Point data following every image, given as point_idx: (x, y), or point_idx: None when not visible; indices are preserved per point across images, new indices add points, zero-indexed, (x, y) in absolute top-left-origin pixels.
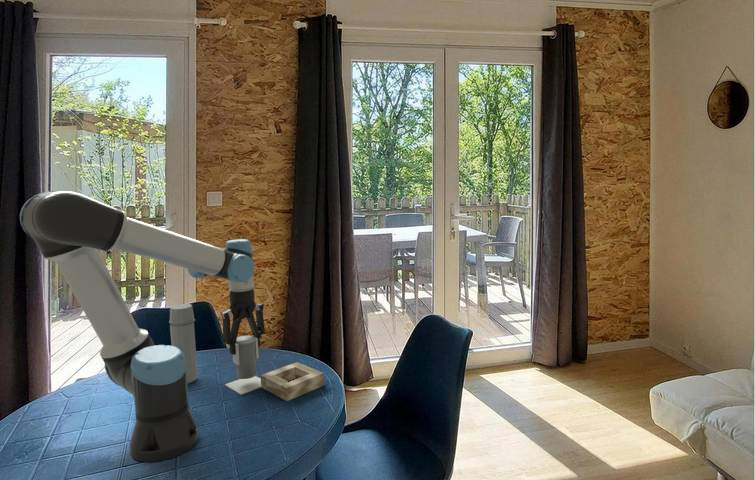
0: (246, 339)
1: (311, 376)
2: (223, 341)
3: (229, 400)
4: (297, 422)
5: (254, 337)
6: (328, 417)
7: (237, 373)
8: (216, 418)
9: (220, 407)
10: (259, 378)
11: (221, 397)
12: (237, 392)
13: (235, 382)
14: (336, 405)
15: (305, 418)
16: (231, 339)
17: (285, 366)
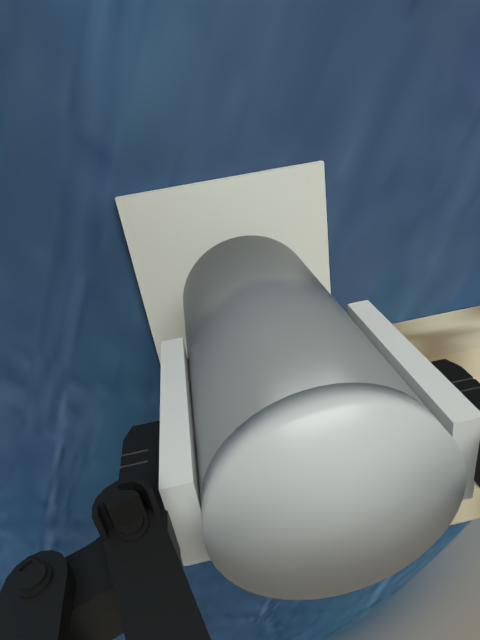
0: (338, 550)
1: (461, 513)
2: (8, 602)
3: (96, 393)
4: (253, 616)
5: (475, 450)
6: (335, 622)
7: (184, 316)
8: (9, 506)
9: (40, 434)
10: (324, 251)
11: (63, 341)
12: (155, 341)
13: (184, 213)
14: (397, 584)
15: (283, 608)
16: (148, 565)
17: (470, 352)
